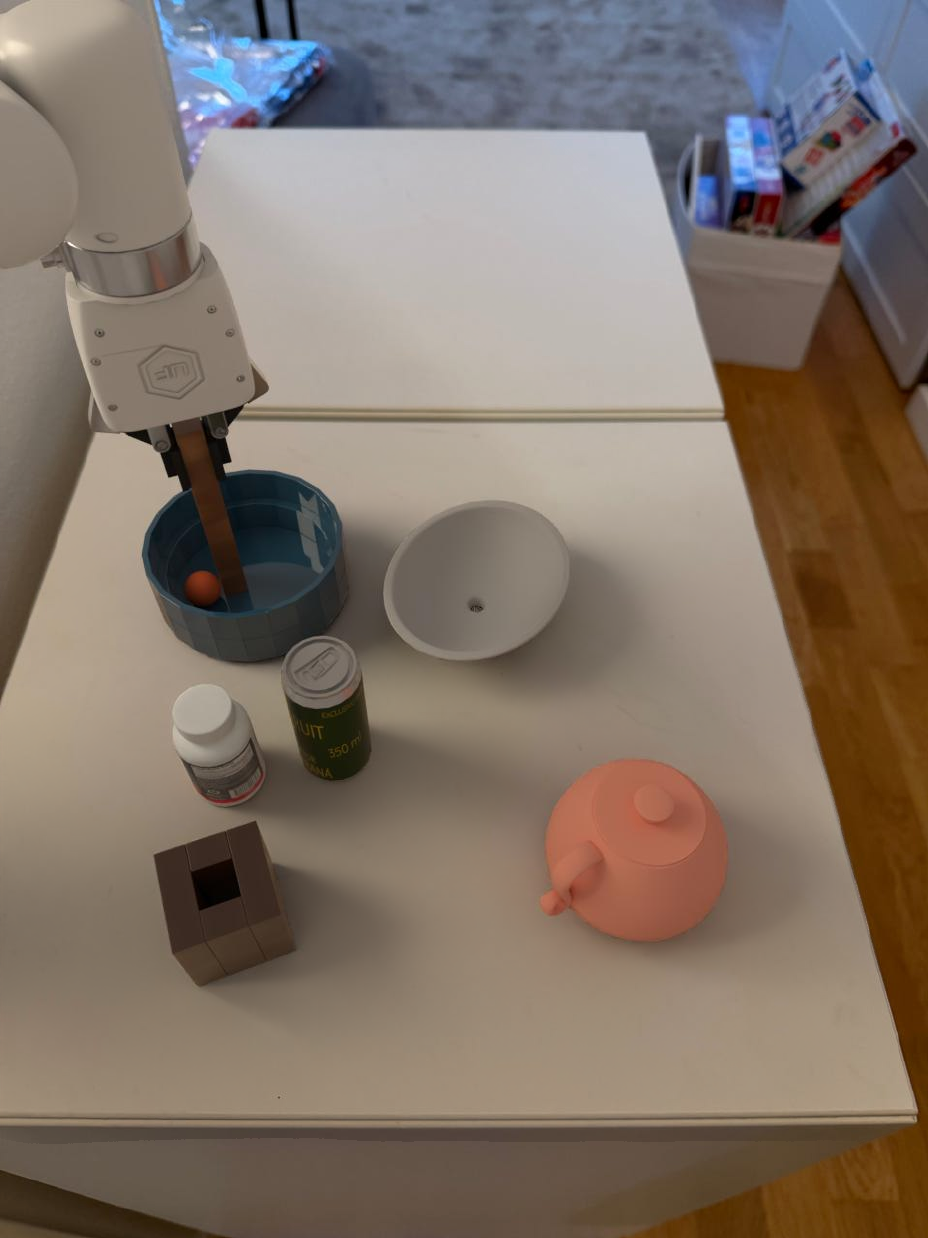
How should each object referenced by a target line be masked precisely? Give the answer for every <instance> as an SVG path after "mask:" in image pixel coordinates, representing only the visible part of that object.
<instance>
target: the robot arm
mask: <svg viewBox="0 0 928 1238" xmlns="http://www.w3.org/2000/svg"><path fill="white" fill-rule="evenodd" d="M37 261H40V262H41V265H42V267H43V269H49V268H53V267H57V268H58V269H62V268H64V269H65V270H66V272H65V275H64V276H65V277H64V282H65V285H64V286H65V289H64V290H65V297H66V304H67V310H68V316H69V321H70V325H71V329H72V332H73V337H74V341H75V343H76V347H77V350H78V353H79V356H80V359H81V363H82V365H83V369H84V372H85V375H86V378H87V382H88V384H89V387H90V396H89V403H88V409H87V419H88V424H89V428H90V430H91V431H92V432H95V433H102V434H114V435H115V434H117V435H120V434H125V435H126V436H128V437H130V438H132V439H135V440H137V441H140V442H142V443H145V444H148V445H150V446H152V449H153V451H155V452H156V453H159V455H160V457H161V461H162V464H163V467H164V469H165V472H166V475H167V478H168V479H171V478H174V477H178V478H177V479H178V481H179V485H180V487H181V491H183V492H184V491H188V490H190V489H189V488H192V486H191V483H190V479H189V476H188V473H187V470H186V467H185V463H184V460H183V457H182V454H181V451H180V447H178V444H177V441H176V438H175V435H174V432H173V428H172V426H171V423H175V422H180V421H184V420H188V419H192V418H197V417H200V421H201V424H202V427H203V430H204V433H205V437H206V443H207V446H208V450H209V454H210V457H211V461H212V464H213V468H214V471H215V475H216V478H217V481H220V482H224V481H227V477H226V474H225V473H226V471H225V470H226V469H225V466H224V465H226V464H231V463H233V461H232V457H231V452H230V449H229V445H228V441H227V436H228V435H229V433H230V432H229V431H230V430H229V427H230V426H231V425H232V423H233V422H234V421H235V420H236V418H237V417H238V415H239V414H241V412H242V411H243V409H244V408H245V406H246V404H251V403H252V402H254V401H256V400H257V399H259V398H261V397H262V396H264V395H265V394H266V393H268V392H269V390H270V385H269V382H268V380H267V378H266V376H265V374H264V373H263V371H262V370H261V369H260V367H258V365H257V364H256V363H255V361H254V360H253V359H252V357H250V355H249V352H248V348H247V344H246V340H245V337H244V333H243V329H242V326H241V322H240V319H239V316H238V315H239V314H238V313H237V309H236V305H235V302H234V299H233V297H232V293H231V290H230V288H229V285H228V283H227V279H226V278H225V275H224V272H223V271H222V269H221V267H220V265H219V262H218V261H217V258H216V257H215V255H214V254H213V252H212V250H211V249H210V247H209V246H208V245H206V244H205V243H203V242H202V241H200V238H199V234H198V229H197V226H196V221H195V217H194V213H193V209H192V206H191V201H190V198H189V194H188V189H187V184H186V181H185V177H184V172H183V169H182V163H181V159H180V156H179V150H178V146H177V142H176V138H175V134H174V129H173V125H172V121H171V117H170V112H169V107H168V104H167V98H166V95H165V91H164V86H163V81H162V78H161V73H160V69H159V65H158V61H157V55H156V52H155V48H154V45H153V42H152V38H151V34H150V32H149V30H148V28H147V25H146V24H145V21H144V20H143V19H142V17H141V16H140V15H139V14H138V13H137V12H136V11H135V10H134V9H133V8H132V7H131V6H129V5H128V4H126V3H124V2H123V1H121V0H28V1H25V2H23V3H22V2H21V3H20V4H18V5H16V6H14V7H13V8H11V9H10V10H8V11H6V12H4V13H0V270H8V269H14V268H19V267H24V266H27V265H29V264H32V263H34V262H37Z"/></svg>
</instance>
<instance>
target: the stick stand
mask: <svg viewBox="0 0 928 1238" xmlns="http://www.w3.org/2000/svg"><path fill="white" fill-rule="evenodd" d="M152 856H153V861H154V866H155V872H156V877H157V882H158V887H159V893H160V898H161V903H162V909H163V913H164V920H165V924H166V930H167V935H168V939H169V940H168V941H169V946H170V950H171V951H170V952H171V954H172V956H173V957H174V958H175V959H176V960H177V962H178V963H179V964H180V966H181V967H182V969H183V970H184V972H185V973H187V975H188V976H189V978H190V979H191V980H192V981H193V982H194V984H195V985H196V986H197V987H198V988H199V987H201V986H204V985H207V984H210V983H213V982H215V981H217V980H220V979H223V978H226V977H228V976H231V975H235V974H237V973H239V972H242V971H245V970H248V969H250V968H253V967H255V966H258V965H261V964H264V963H267V962H270V961H272V960H274V959H277V958H279V957H282V956H285V955H288V954H290V953H293V952H295V951H297V948H296V944H295V940H294V937H293V932H292V929H291V926H290V922H289V919H288V915H287V910H286V907H285V903H284V899H283V895H282V892H281V888H280V885H279V881H278V877H277V873H276V869H275V866H274V863H273V860H272V857H271V854H270V852H269V850H268V847H267V845H266V843H265V839H264V837H263V834H262V832H261V829H260V827H259V823H258V822H257V820H253V821H250V822H247V823H243V824H240V825H238V826H235V827H232V828H228V829H226V830H222V831H220V832H217V833H214V834H211V835H208V836H205V837H202V838H198V839H195V840H193V841H190V842H187V843H185V844H180V845H177V846H175V847H171V848H168V849H165V850H162V851H160V852H157V853H154V854H153V855H152Z"/></svg>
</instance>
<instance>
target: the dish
mask: <svg viewBox="0 0 928 1238" xmlns="http://www.w3.org/2000/svg"><path fill="white" fill-rule="evenodd" d="M396 549H397V550H396V551H395V553H394V554H393V556H392V558H391V560H390V562H389V565H388V567H387V569H386V573H385V577H384V581H383V592H382V595H383V605H384V610H385V613H386V617H387V619H388V621H389V623H390V624H391V627H392V628H393V629H394V631H395V632H396V634H397V635H398V636H399V637H400V638H401V640H402V641H404V642H405V643H406V644H407V645H409V646H410V647H411V648H413V649H414V650H416V651H418V652H419V653H421V654H424V655H426V656H428V657H430V658H434V659H438V660H443V661H448V662H455V663H459V662H460V663H461V662H462V663H464V662H465V663H469V662H479V661H484V660H489V659H492V658H497V657H499V656H502V655H505V654H507V653H510V652H513V651H514V650H516V649H518V648H520V647H521V646H523V645H525V644H526V643H528V642H529V641H530V640H532V639H534V637H536V636H537V635H539V634H540V632H542V631H543V629H544V628H546V627H547V626H548V624H549V623H550V622H551V621H552V620H553V618H554V617H555V615H556V614H557V613H558V611H559V610H560V608H561V606H562V604H563V602H564V600H565V598H566V596H567V593H568V589H569V587H570V586H569V585H570V582H571V573H572V568H571V566H572V564H571V557H570V552H569V549H568V545H567V543H566V541H565V539H564V537H563V535H562V534H561V531H560V530H559V529H558V528H557V526H555V525H554V523H553V522H552V521H551V520H550V519H548V518H547V517H546V516H544V515H543V514H542V513H540V512H539V511H537V510H535V509H533V508H531V507H528V506H526V505H524V504H521V503H517V502H513V501H508V500H500V499H499V500H497V499H485V500H474V501H469V502H464V503H461V504H458V505H455V506H452V507H449V508H446V509H444V510H442V511H439V512H438V513H435V514H434V515H433V516H431V517H429V518H428V519H426V520H425V521H423V522H422V523H421V524H420V525H418V526H417V527H416V528H414V529H413V530H412V531H411V532H410V533H409V534H408V535H407V537H406V538H405V539H404V540H403V541H402V542H401V543H400V545H399V546H398V548H396ZM474 607H480V608H482V610H481V611H472V608H474Z"/></svg>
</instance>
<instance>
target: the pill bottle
mask: <svg viewBox="0 0 928 1238" xmlns="http://www.w3.org/2000/svg"><path fill="white" fill-rule="evenodd" d="M171 714H172V716H171V717H172V721H173V723H174V724H173V727H172V734H171V736H172V742H173V747H174V749H175V751H176V753H177V755H178V757H179V758H180V760H181V762H182V764H183V766H184V768H185V771H186V772H187V775H188V777H189V778H190V780H191V783H192V785H193V787H194V789H195V790H196V792H197V793H198V796H200V797H201V799H203V800H204V801H205V802H207V803H209V804H211V805H214V806H218V807H225V808H226V807H233V806H238V805H240V804H243V803H244V802H246V801H248V800H249V799H251V798H252V797H253V796H255V795H256V794H257V793H258V791H259V790H260V789H261V787H262V785H263V784H264V781H265V778H266V771H267V770H266V769H267V767H266V762H265V758H264V755H263V752H262V750H261V747H260V744H259V741H258V739H257V736H256V733H255V730H254V727H253V723H252V720H251V718H250V715H249V714H248V712H247V710H246V709H245V707H244V706H243V705H242V704H240V702H239V701H236V700H235V699H233V698H232V697H231V695H230V694H229V692H228V691H227V690H226V689H224V688H223V687H222V686H220V685H218V684H213V683H201V684H200V683H199V684H196V685H194V686H193V685H192V686H191V687H189V688H187V689H186V690H184V691H183V692H182V693H180V695H179V696H178V697H177V698H176V700H175V702H174V704H173V707H172V712H171Z"/></svg>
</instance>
